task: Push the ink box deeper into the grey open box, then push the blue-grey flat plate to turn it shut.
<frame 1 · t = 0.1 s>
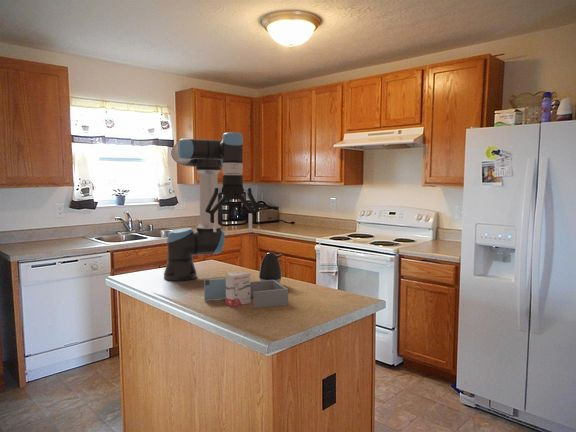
hand: (232, 231, 158), 28 cm above the counter, fingers open, 13 cm apart
blue-grey flat plate: (221, 288, 166), point 4 cm above the counter, hinge at -90.0°
pump dispenser: (270, 285, 189), on the counter
grey open box: (262, 300, 165), on the counter
ink box: (238, 303, 161), on the counter
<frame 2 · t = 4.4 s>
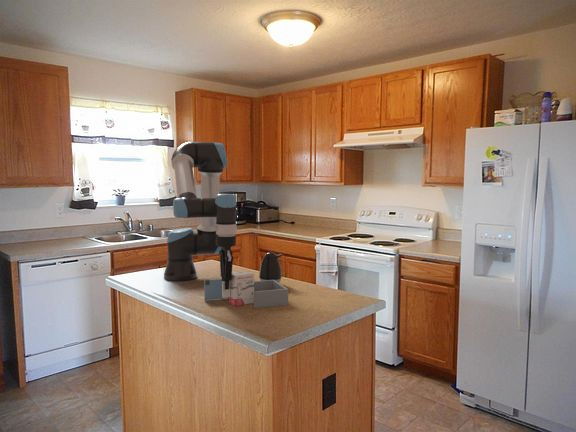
hand: (226, 296, 159), 3 cm above the counter, fingers closed
ink box: (241, 303, 161), on the counter, touching gripper
everything else where it was.
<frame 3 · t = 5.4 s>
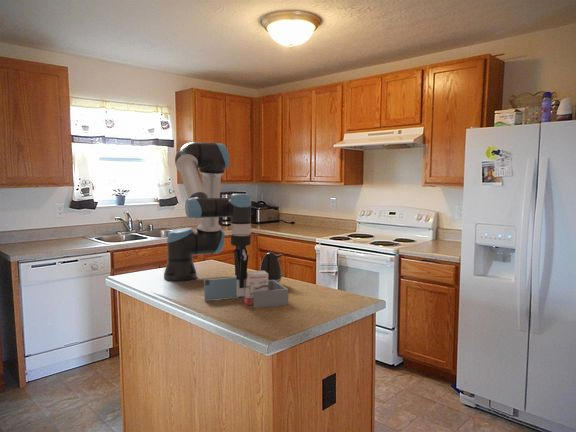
hand: (240, 295, 161), 3 cm above the counter, fingers closed
ink box: (256, 303, 162), on the counter, touching gripper
everything else where it was.
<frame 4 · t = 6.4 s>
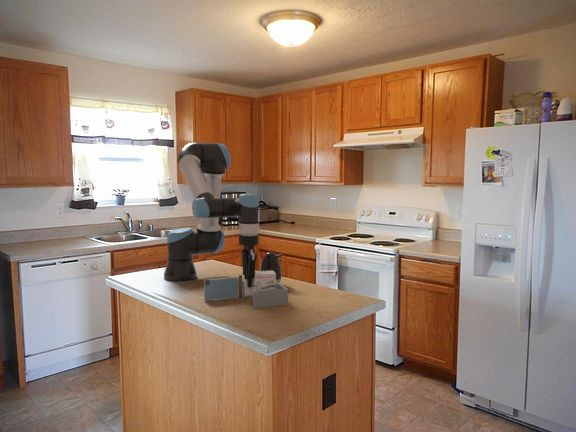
hand: (248, 294, 162), 3 cm above the counter, fingers closed
ink box: (263, 302, 163), on the counter, touching gripper
everything else where it was.
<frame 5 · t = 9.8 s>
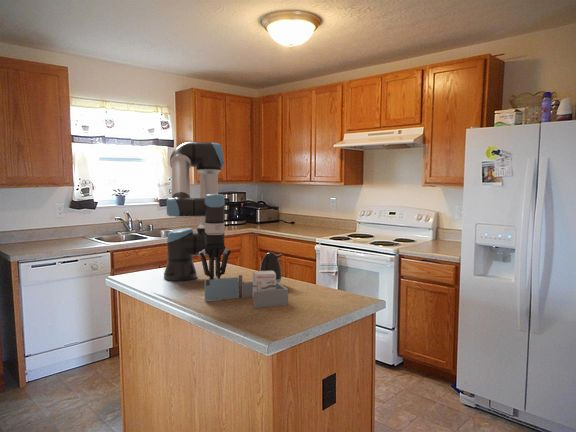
hand: (214, 292, 166), 3 cm above the counter, fingers closed
blue-grey flat plate: (221, 288, 165), point 4 cm above the counter, hinge at -87.1°, touching gripper
ink box: (264, 302, 163), on the counter
everything else where it was.
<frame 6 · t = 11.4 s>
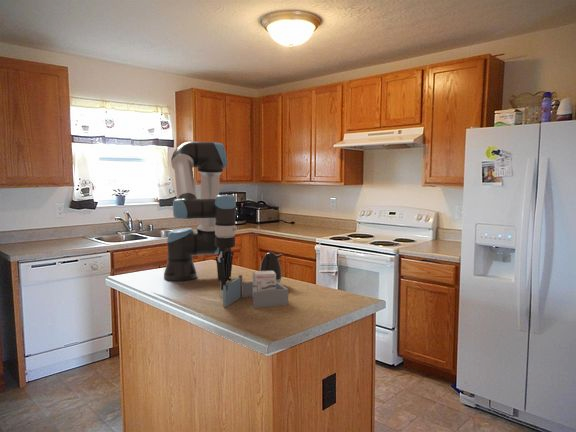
hand: (224, 297, 160), 2 cm above the counter, fingers closed
blue-grey flat plate: (232, 291, 161), point 4 cm above the counter, hinge at -39.5°, touching gripper
everything else where it was.
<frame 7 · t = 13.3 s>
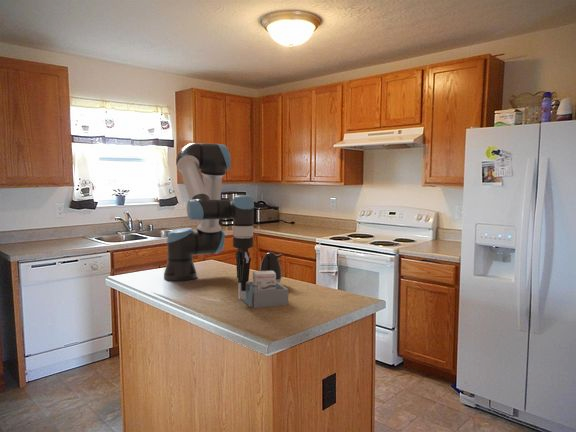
hand: (242, 298, 159), 2 cm above the counter, fingers closed
blue-grey flat plate: (245, 291, 161), point 4 cm above the counter, hinge at 0.3°, touching gripper
everything else where it was.
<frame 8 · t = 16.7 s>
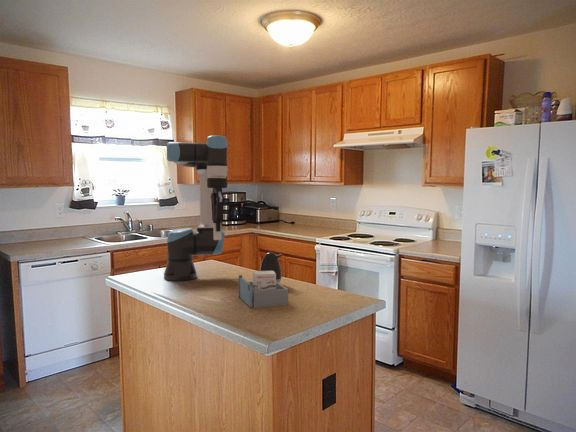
hand: (217, 239, 160), 24 cm above the counter, fingers closed
blue-grey flat plate: (245, 291, 161), point 4 cm above the counter, hinge at 0.3°
everything else where it was.
at the end: blue-grey flat plate at +0° (first picture: -90°); ink box inside the target area (2.2 cm from its centre), on the counter; ink box tilted 0° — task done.
